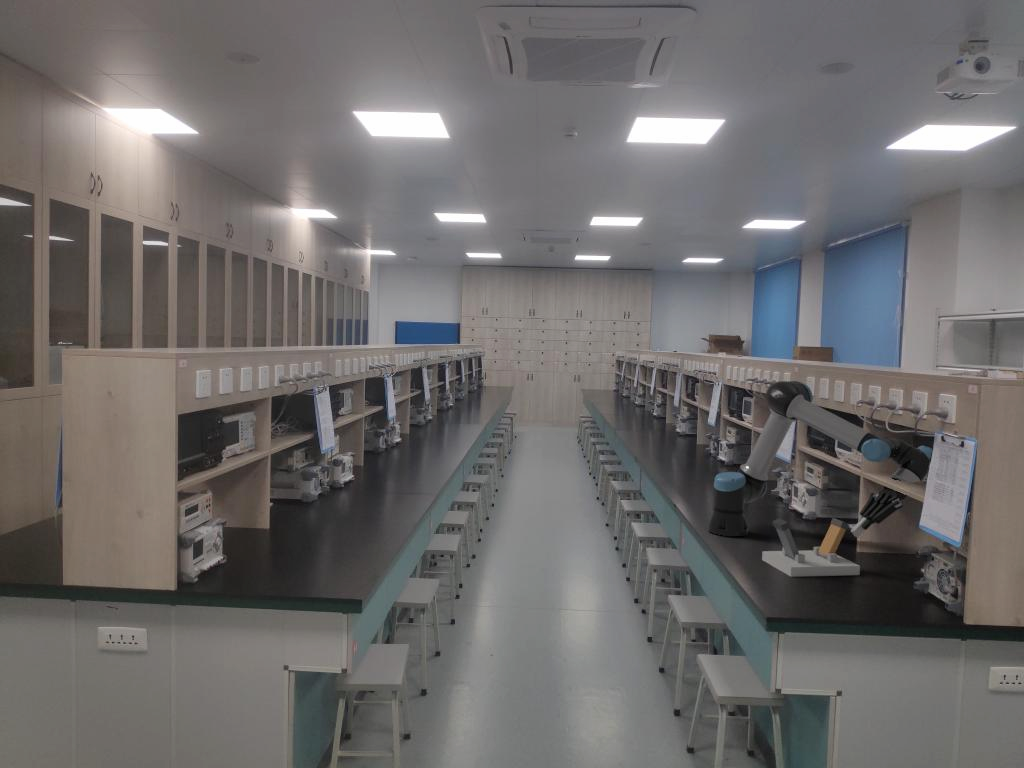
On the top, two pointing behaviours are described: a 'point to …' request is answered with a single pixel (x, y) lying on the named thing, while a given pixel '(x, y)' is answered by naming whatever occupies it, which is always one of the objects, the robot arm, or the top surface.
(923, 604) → the top surface
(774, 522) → the grey lever
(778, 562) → the control panel
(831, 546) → the orange lever
